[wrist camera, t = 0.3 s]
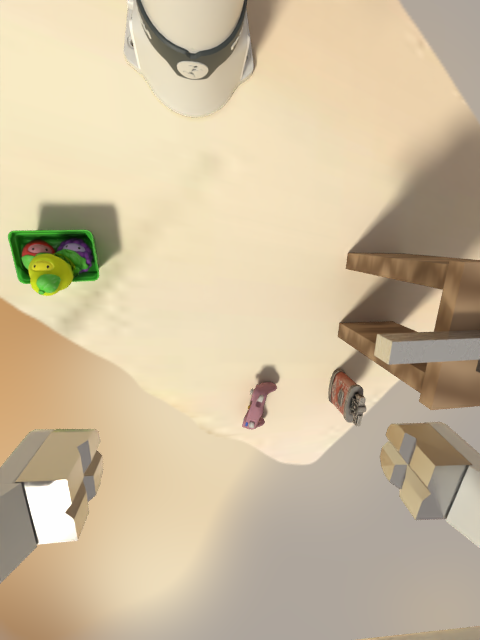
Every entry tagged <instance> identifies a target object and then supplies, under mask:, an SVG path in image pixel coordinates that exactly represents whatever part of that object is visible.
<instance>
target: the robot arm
mask: <svg viewBox="0 0 480 640" xmlns="http://www.w3.org/2000/svg"><path fill="white" fill-rule="evenodd" d="M246 5H247V0H127V6H128V12H127V23H126V33H125V43H124V54H125V59H126V61H127V62H128V63H129V64H130V66H132V67H133V68H134V69H135V70H136V71H137V72H139V73H140V74H141V75H142V76H143V77H144V78H145V80H146V81H147V83H148V85H149V86H150V88H151V90H152V91H153V93H154V94H155V95H156V97H157V98H158V99H159V100H160V101H161V102H162V103H163V104H164V105H165V106H167V107H168V108H169V109H171V110H172V111H174V112H176V113H178V114H181V115H184V116H188V117H203V116H207V115H210V114H213V113H215V112H216V111H218V110H219V109H221V108H222V107H223V106H224V105H225V104H226V103H227V101H228V100H229V99H230V97H231V96H232V94H233V92H234V91H235V89H236V88H237V87H238V85H240V84H241V83H243V82H244V81H246V80H247V79H248V78H249V77H250V76H251V75H252V73H253V68H254V63H253V55H252V48H251V40H250V32H249V25H248V17H247V9H246ZM132 43H133V46H134V47H133V46H131V44H132ZM246 58H247V60H246ZM386 437H387V439H388V440H389V441H388V442H387V443H386V444H385V445H384V446H383V447H382V450H381V454H380V461H381V467H382V469H383V472H384V474H385V476H386V477H387V479H388V480H389V482H390V483H392V484H393V485H395V486H396V487H397V488H399V489H400V491H399V497H400V498H401V500H402V501H403V503H404V504H405V506H406V507H407V508H408V510H409V511H410V513H411V514H412V516H413V517H414V519H415V520H426V519H427V520H428V519H446V521H447V522H448V523H449V524H450V525H452V526H453V527H454V528H455V529H457V530H458V531H459V532H460V533H462V534H463V535H464V536H465V537H467V538H468V539H469V540H470V541H472V542H473V543H474V544H475V545H476V546H478V547H479V548H480V454H479V453H478V452H477V451H476V450H475V449H474V448H473V447H472V446H470V445H469V444H468V443H467V442H466V441H465V440H463V439H462V438H461V437H460V436H459V435H458V434H457V433H456V432H454V431H453V430H452V429H451V428H450V427H449V426H448V425H446V424H444V423H442V422H425V423H403V424H391V425H390V426H389V427H388V429H387V432H386ZM99 444H100V436H99V431H97V430H96V429H56V430H54V429H47V430H46V429H37V430H36V429H35V430H33V431H31V432H29V433H28V434H27V435H26V437H25V438H24V439H23V440H22V442H21V443H20V444H19V445H18V446H17V448H16V449H15V450H14V451H13V452H12V454H11V455H10V456H9V457H8V458H7V460H6V461H5V462H4V463H3V465H2V466H1V467H0V583H1V582H2V581H3V580H4V579H5V578H6V577H7V576H8V575H9V574H10V573H11V572H12V571H13V570H14V569H15V568H16V567H17V566H18V565H19V564H20V563H21V562H22V561H23V560H24V559H25V558H26V557H27V556H28V555H29V554H30V553H31V552H32V551H33V550H34V549H35V548H36V547H37V544H45V543H56V542H67V541H78V539H79V536H80V534H81V531H82V529H83V526H84V524H85V521H86V519H87V516H88V514H89V508H88V501H90V500H91V499H92V498H93V497H94V496H95V495H96V494H97V491H98V488H99V486H100V481H101V477H102V472H103V458H102V455H101V454H100V453H99V452H98V451H97V448H98V446H99ZM357 640H480V626H475V627H466V628H457V629H448V630H439V631H429V632H421V633H412V634H403V635H393V636H385V637H375V638H366V639H357Z"/></svg>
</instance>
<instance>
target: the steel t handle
mask: <svg viewBox="0 0 480 640" xmlns="http://www.w3.org/2000/svg"><path fill="white" fill-rule="evenodd" d="M374 356H376V357H377V358H379V359H381V360H382V361H384V362H385V363H387V364H388V365H392V364H410V363H427V362H445V361H463V360H478V364H477V367H476V371H477V372H479V373H480V330H470V331H443V332H416V333H389V334H377V339H376V345H375V352H374Z"/></svg>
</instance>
